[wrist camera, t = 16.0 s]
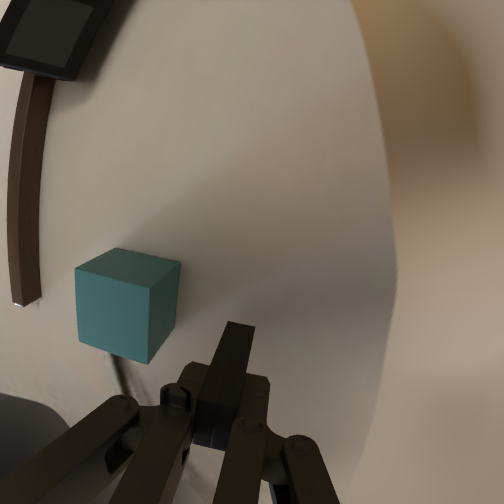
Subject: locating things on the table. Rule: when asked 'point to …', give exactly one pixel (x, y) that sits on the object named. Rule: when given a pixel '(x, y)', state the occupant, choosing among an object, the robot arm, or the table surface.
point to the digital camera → (50, 35)
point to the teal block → (126, 303)
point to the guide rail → (26, 186)
